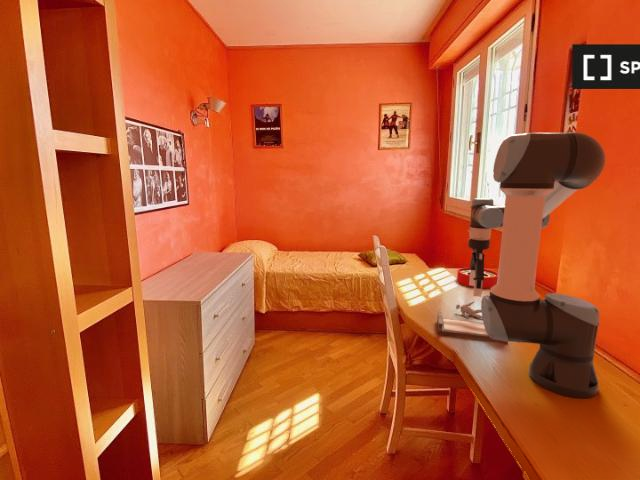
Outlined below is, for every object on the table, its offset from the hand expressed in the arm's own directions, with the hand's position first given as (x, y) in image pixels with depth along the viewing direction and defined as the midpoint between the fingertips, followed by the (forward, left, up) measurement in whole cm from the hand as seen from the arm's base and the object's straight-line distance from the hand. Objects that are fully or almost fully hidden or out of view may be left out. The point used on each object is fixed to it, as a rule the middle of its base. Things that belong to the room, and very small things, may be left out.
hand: (474, 290), depth 136 cm
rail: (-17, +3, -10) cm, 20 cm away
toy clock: (+49, -8, -11) cm, 51 cm away
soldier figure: (-2, 0, -11) cm, 11 cm away
